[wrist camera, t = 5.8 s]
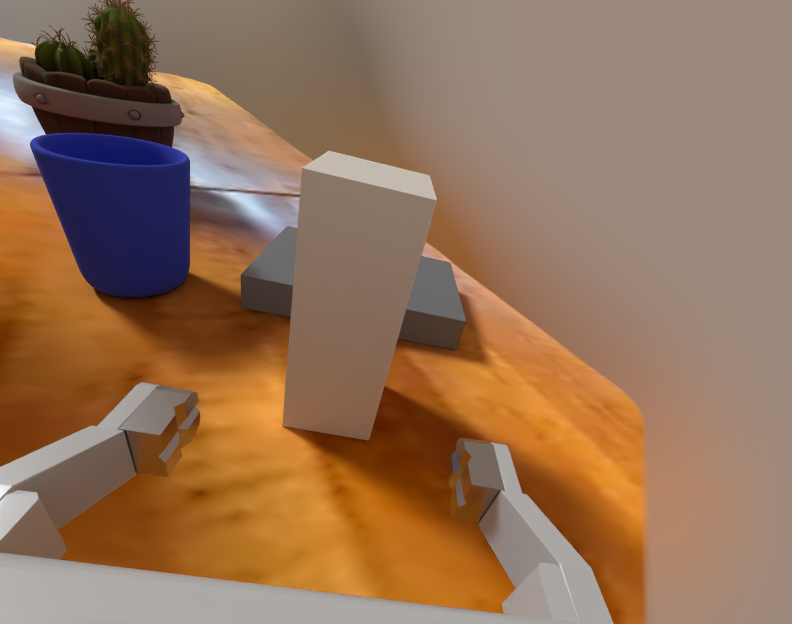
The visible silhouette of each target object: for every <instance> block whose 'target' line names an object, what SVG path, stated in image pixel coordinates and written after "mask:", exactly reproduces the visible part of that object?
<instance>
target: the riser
mask: <svg viewBox="0 0 792 624" xmlns="http://www.w3.org/2000/svg"><path fill="white" fill-rule="evenodd" d="M297 229H298V228H293V227H289V226H287V227H286V228H285V229H284V230H283V231H282V232H281V233H280V234H279V235H278V236H277V237H276V239H275V240H274V241H273V242H272V243H271V244H270V245H269V246H268V247H267V248H266V249H265V250H264V251H263V252H262V253H261V254H260V255H259V256H258V257H257V258H256V260H255V261H254V262H253V263H252V264H251V265H250V266H249V267H248V268H247V269H246V270H245V271H244V272H243V273H242V274H241V308H246V309H251V310H256V311H261V312H266V313H271V314H276V315H281V316H286V317H291V307H292V294H293V281H294V268H295V255H296V242H297ZM465 324H466V318H465V315H464V311H463V307H462V304H461V300H460V296H459V293H458V289H457V285H456V282H455V278H454V274H453V271H452V267H451V263H450V262H446V261H441V260H437V259H432V258H428V257H423V256H421V259H420V262H419V266H418V269H417V273H416V276H415V280H414V284H413V287H412V291H411V294H410V298H409V301H408V305H407V308H406V312H405V315H404V319H403V322H402V326H401V330H400V333H399V337H398V339H402V340H407V341H412V342H417V343H422V344H427V345H432V346H437V347H442V348H447V349H452V350H455V349H456V346H457V344H458V341H459V339H460V336H461V334H462V331H463V329H464V326H465Z"/></svg>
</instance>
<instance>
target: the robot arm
mask: <svg viewBox="0 0 792 624" xmlns="http://www.w3.org/2000/svg"><path fill="white" fill-rule="evenodd" d="M198 401H199V400H198V394H197V393H196V392H191V391H186V390H181V389H176V388H171V387H166V386H161V385H155V384H150V383H144V382H142V383H140V384H138V385H136V386H135V387H134V388H133V389H132V390H131V391H130V392H129V393H128V394H127V395H126V396H125V397H124V398H123V400H122V401H121V402H120V403H119V404H118V405H117V406H116V407H115V408H114V409H113V410H112V411H111V412H110V413H109V414H108V415H107V416H106V417H105V418H104V419H103V420H102V421H101V422H100V424H99V425H98V426H92V425H91V426H89V427H87V428H84V429H82V430H80V431H78V432H76V433H73V434H71V435H69V436H67V437H65V438H63V439H60V440H58V441H56V442H54V443H52V444H49V445H47V446H45V447H43V448H41V449H38V450H36V451H34V452H32V453H30V454H28V455H25V456H23V457H21V458H19V459H17V460H14V461H12V462H10V463H8V464H6V465H3V466H1V467H0V624H614V623H613V621H612V618H611V616H610V613H609V611H608V608H607V606H606V603H605V601H604V598H603V596H602V593H601V591H600V588H599V586H598V583H597V581H596V578H595V576H594V573H593V571H592V568H591V567H590V566H589V565H588V564H587V563H586V562H585V560H584V559H583V558H582V557H581V556H580V555H579V554H578V552H577V551H576V550H575V549H574V548H573V547H572V545H571V544H570V543H569V542H568V541H567V540H566V539H565V537H564V536H563V535H562V534H561V533H560V532H559V531H558V529H557V528H556V527H555V526H554V525H553V524H552V523H551V521H550V520H549V519H548V518H547V517H546V516H545V515H544V513H543V512H542V511H541V510H540V509H539V508H538V506H537V505H536V504H535V503H534V502H533V501H532V500H531V498H530V497H529V496H528V495H527V494H523V493H522V490H521V487H520V484H519V481H518V477H517V474H516V471H515V468H514V464H513V461H512V458H511V455H510V451H509V448H508V447H507V446H506V445H503V444H497V443H490V442H487V441H481V440H474V439H468V438H462V437H461V438H460V439H458V441H457V443H456V450H457V451H455V452H453V453H451V456H450V458H449V460H448V466H447V482H448V485H449V486H450V487H451V489H452V490H453V491H452V493H451V495H450V497H449V500H450V508H451V516H452V519H455V520H460V521H466V522H472V523H477V524H478V526H479V528H480V529H481V531H482V533H483V535H484V536H485V538H486V540H487V541H488V543H489V545H490V546H491V548H492V550H493V551H494V553H495V555H496V556H497V558H498V560H499V561H500V563H501V565H502V566H503V568H504V570H505V571H506V573H507V575H508V576H509V578H510V580H511V581H512V583H513V585H514V586H515V588H516V589H515V590H514V591H513V592H512V593H511V594H510V595H509V596H508V598H507V599H506V600H505V601H504V602H503V604H502V606H503V611H504V614H502V613H494V612H486V611H477V610H469V609H461V608H453V607H445V606H437V605H428V604H420V603H412V602H404V601H396V600H387V599H379V598H371V597H363V596H355V595H347V594H338V593H330V592H322V591H314V590H305V589H297V588H289V587H281V586H273V585H264V584H256V583H248V582H240V581H231V580H223V579H215V578H207V577H199V576H190V575H182V574H174V573H166V572H157V571H149V570H141V569H133V568H125V567H116V566H108V565H100V564H92V563H83V562H75V561H67V560H60V559H61V558H62V556H63V555H64V554H65V552H66V551H67V547H66V543H65V541H64V539H63V538H62V536H61V534H60V532H59V531H58V529H60V528H61V527H63V526H64V525H66V524H67V523H68V522H70V521H71V520H73V519H74V518H76V517H77V516H78V515H80V514H81V513H83V512H84V511H86V510H87V509H88V508H90V507H91V506H93V505H94V504H96V503H97V502H98V501H100V500H101V499H103V498H104V497H106V496H107V495H108V494H110V493H111V492H113V491H114V490H116V489H117V488H118V487H120V486H121V485H123V484H124V483H126V482H127V481H128V480H130V479H131V478H133V477H134V476H136V473H139V474H147V475H156V476H164V477H169V475H170V474H171V472H172V471H173V469H174V467H175V466H176V464H177V463H178V461H179V460H180V458H181V457H182V454H181V448H182V447H184V446H186V445H187V444H189V443H190V442H191V441H192V439H193V437H194V436H195V434H196V431H197V429H198V426H199V422H200V411H199V410H198V409H197V408H196V407H195V405H196V404H197V403H198Z"/></svg>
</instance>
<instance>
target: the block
mask: <svg viewBox="0 0 792 624" xmlns="http://www.w3.org/2000/svg"><path fill="white" fill-rule="evenodd" d="M436 202H437V199H436V195H435V192H434V189H433V186H432V182H431V179H430V176H429V175H425V174H421V173H417V172H413V171H409V170H404V169H401V168H397V167H393V166H389V165H385V164H381V163H376V162H372V161H368V160H364V159H360V158H356V157H352V156H348V155H344V154H340V153H336V152H332V151H328V152H326V153H325V154H323V155H322V156H320V157H319V158H317V159H316V160H314V161H312V162H311V163H309V164H308V165H306V166H304V167H303V168H302V177H301V190H300V203H299V216H298V229H297V242H296V255H295V268H294V281H293V294H292V307H291V320H290V333H289V346H288V359H287V372H286V385H285V398H284V411H283V424H282V426H285V427H291V428H297V429H303V430H309V431H315V432H321V433H326V434H332V435H338V436H344V437H350V438H356V439H362V440H368V441H369V439H370V436H371V432H372V429H373V425H374V421H375V418H376V414H377V411H378V407H379V404H380V400H381V397H382V393H383V390H384V386H385V383H386V379H387V375H388V372H389V368H390V365H391V361H392V358H393V354H394V351H395V347H396V344H397V340H398V337H399V333H400V330H401V326H402V322H403V319H404V315H405V312H406V308H407V305H408V301H409V298H410V294H411V291H412V287H413V284H414V280H415V276H416V273H417V269H418V266H419V262H420V259H421V255H422V252H423V248H424V245H425V241H426V237H427V234H428V230H429V227H430V223H431V220H432V216H433V212H434V209H435V206H436Z"/></svg>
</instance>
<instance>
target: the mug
mask: <svg viewBox="0 0 792 624" xmlns="http://www.w3.org/2000/svg"><path fill="white" fill-rule="evenodd" d="M30 147H31V150H32V152H33V155H34V157H35V160H36V162H37V165H38V167H39V170H40V172H41V175H42V177H43V180H44V182H45V185H46V187H47V190H48V192H49V195H50V197H51V200H52V202H53V205H54V207H55V210H56V212H57V215H58V217H59V220H60V222H61V225H62V227H63V230H64V232H65V235H66V237H67V240H68V242H69V245H70V247H71V250H72V252H73V255H74V257H75V260H76V262H77V265H78V267H79V269H80V272H81V273H82V275H83V277H84V278H85V280H86V281H87V282H88V283H89V284H90V285H91V286H92V287H94V288H95V289H97V290H99V291H101V292H104V293H106V294H110V295H114V296H121V297H146V296H153V295H158V294H162V293H165V292H168V291H170V290H172V289H174V288H176V287H178V286H179V285H181V284H182V283H183V281H184V280H185V279H186V277H187V275H188V272H189V267H190V160H189V158H188V156H187V155H186V154H184V153H183V152H181V151H179V150H177V149H174V148H172V147H169V146H166V145H162V144H158V143H154V142H150V141H145V140H140V139H134V138H128V137H121V136H113V135H103V134H89V133H57V134H48V135H42V136H39V137H36V138H34V139H33V140H32V141H31V142H30Z"/></svg>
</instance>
